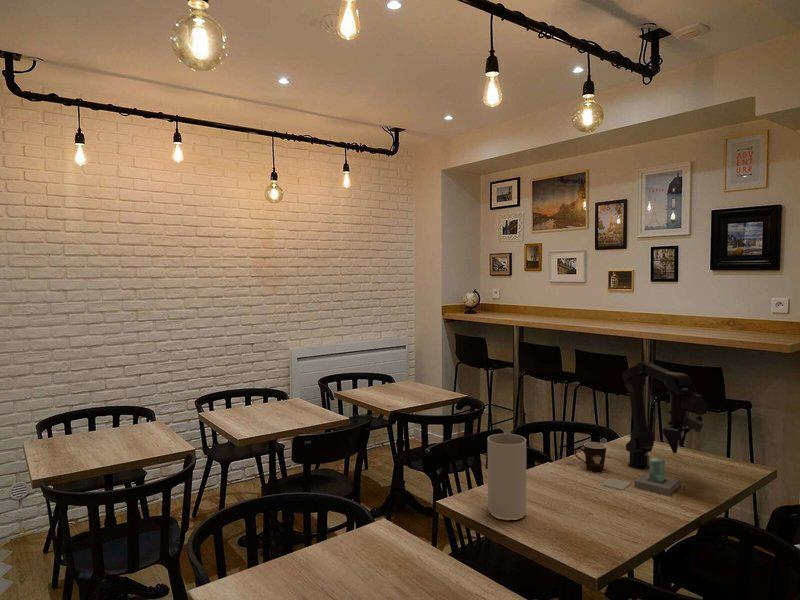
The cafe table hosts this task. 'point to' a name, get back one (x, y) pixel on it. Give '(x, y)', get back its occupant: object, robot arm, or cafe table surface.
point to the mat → (616, 484)
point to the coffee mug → (594, 456)
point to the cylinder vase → (507, 475)
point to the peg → (657, 470)
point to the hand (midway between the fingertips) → (678, 449)
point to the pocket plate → (657, 484)
